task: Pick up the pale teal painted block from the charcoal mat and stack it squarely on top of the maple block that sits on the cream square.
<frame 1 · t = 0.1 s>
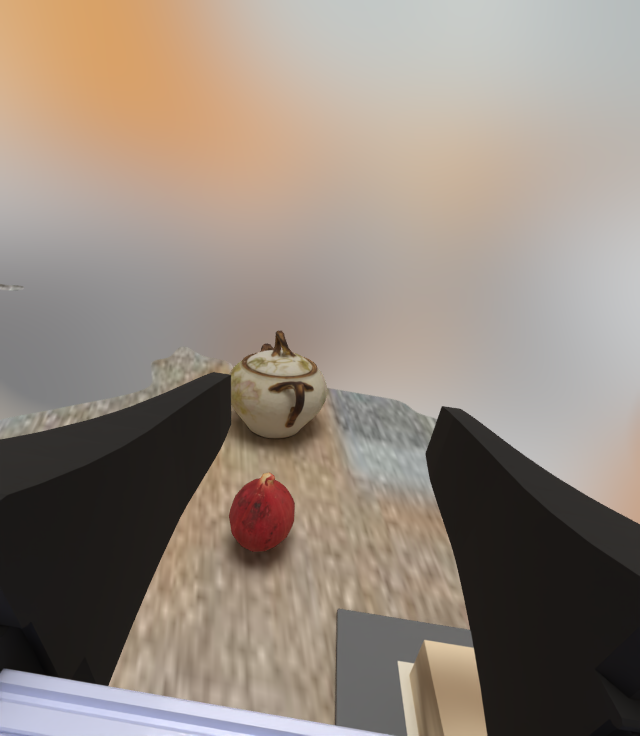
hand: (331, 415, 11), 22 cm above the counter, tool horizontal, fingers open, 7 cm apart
onion: (259, 544, 30), on the counter
cream rounded vessel: (274, 424, 49), on the counter
maple block: (458, 734, 19), point 1 cm above the counter, touching mat
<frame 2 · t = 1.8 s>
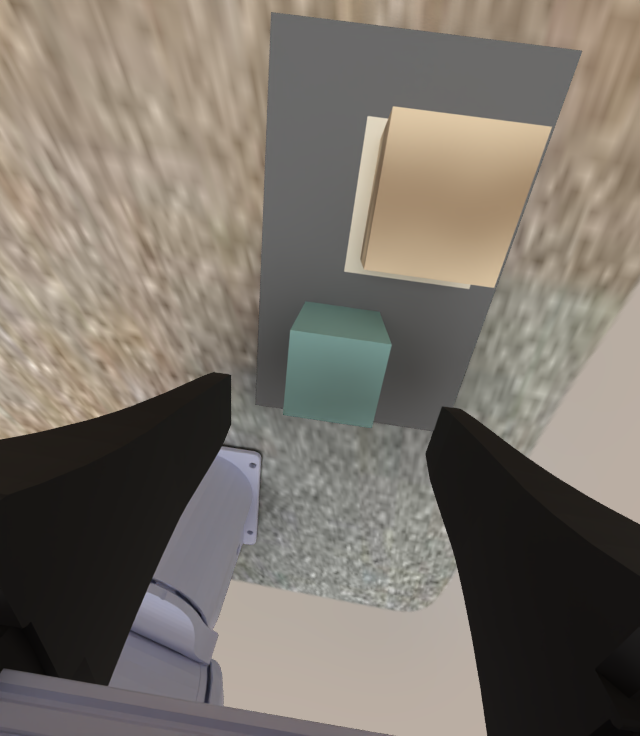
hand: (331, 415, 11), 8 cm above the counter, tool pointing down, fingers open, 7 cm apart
teal block: (337, 341, 17), resting on mat
maple block: (422, 210, 14), point 1 cm above the counter, touching mat
mat: (377, 270, 16), on the counter
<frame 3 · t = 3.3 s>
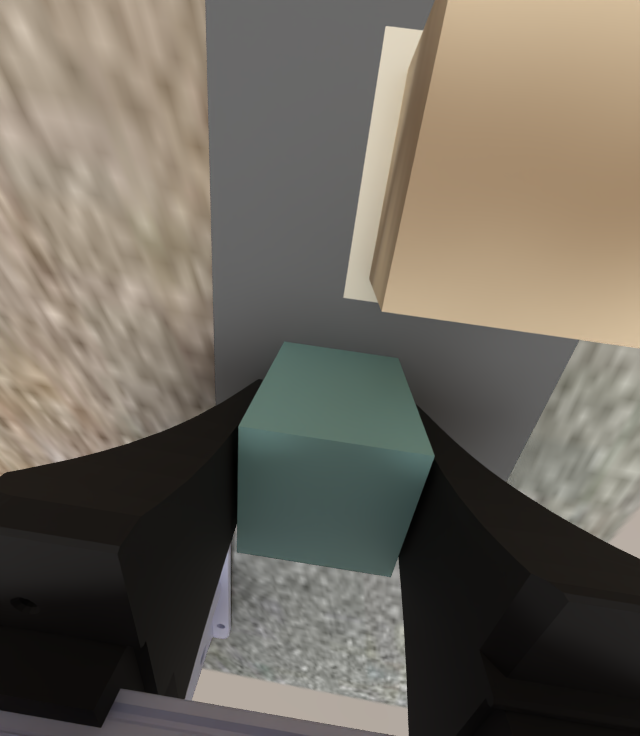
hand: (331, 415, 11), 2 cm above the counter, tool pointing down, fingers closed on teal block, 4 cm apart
teal block: (332, 398, 12), resting on mat, touching gripper
maple block: (476, 198, 9), point 1 cm above the counter, touching mat
mat: (394, 295, 10), on the counter
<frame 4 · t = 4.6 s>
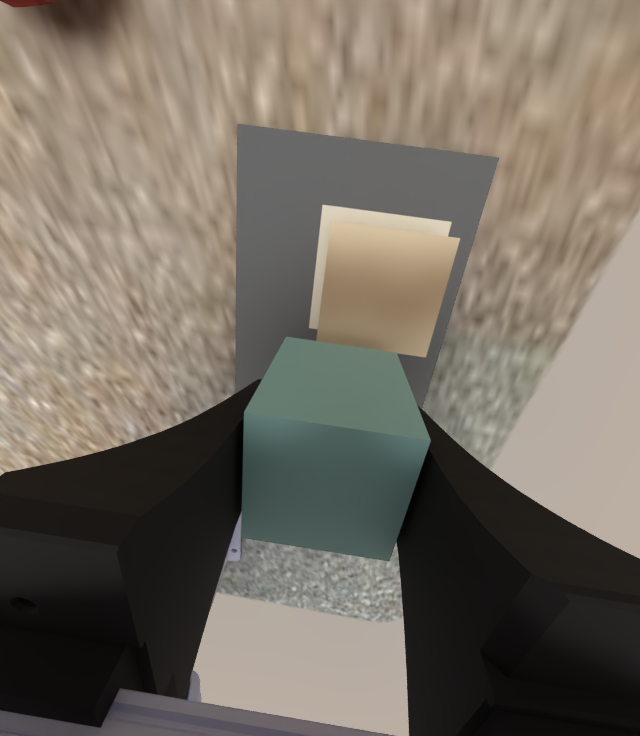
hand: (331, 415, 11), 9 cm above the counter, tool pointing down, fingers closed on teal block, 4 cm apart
teal block: (333, 392, 12), point 7 cm above the counter, touching gripper
maple block: (374, 279, 17), point 1 cm above the counter, touching mat
mat: (338, 326, 18), on the counter
when the fingers open (7 cm above the counter, at t = 6.1 s): teal block stays where it is, resting on maple block.
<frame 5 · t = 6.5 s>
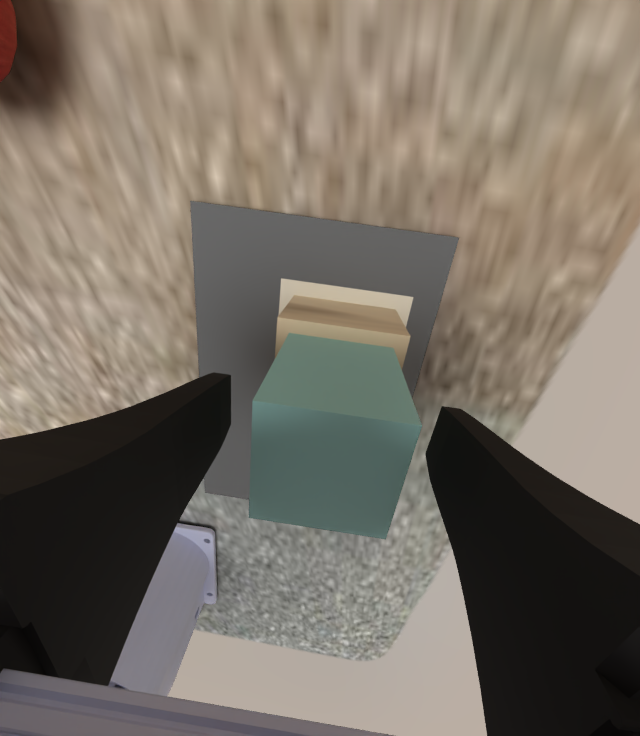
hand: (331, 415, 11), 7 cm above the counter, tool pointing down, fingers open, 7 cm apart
onion: (9, 37, 12), on the counter
teal block: (333, 386, 13), point 5 cm above the counter, touching maple block
maple block: (337, 349, 16), point 1 cm above the counter, touching mat, teal block
mat: (304, 389, 18), on the counter
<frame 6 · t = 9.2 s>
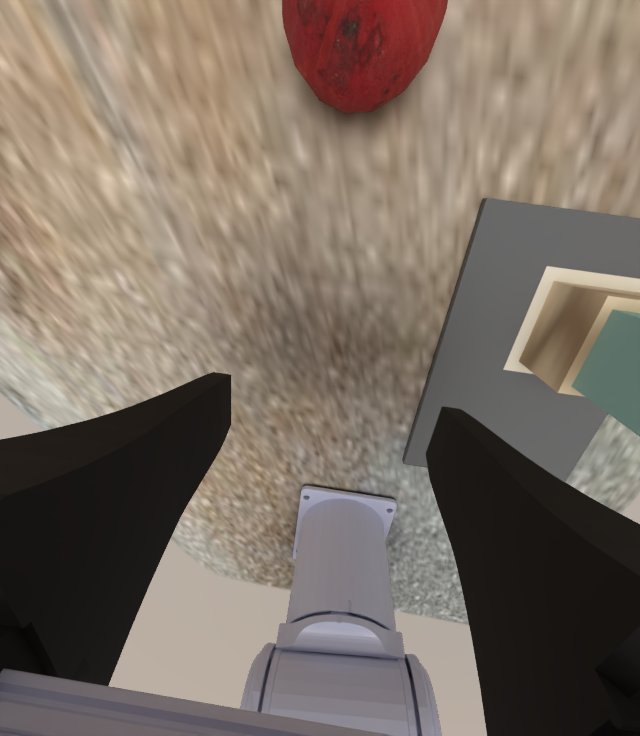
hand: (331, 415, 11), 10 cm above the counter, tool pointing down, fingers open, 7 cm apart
onion: (359, 58, 15), on the counter
teal block: (633, 356, 15), point 5 cm above the counter, touching maple block
maple block: (577, 329, 18), point 1 cm above the counter, touching mat, teal block
mat: (527, 367, 20), on the counter
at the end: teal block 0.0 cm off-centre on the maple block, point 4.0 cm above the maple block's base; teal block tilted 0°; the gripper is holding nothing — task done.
